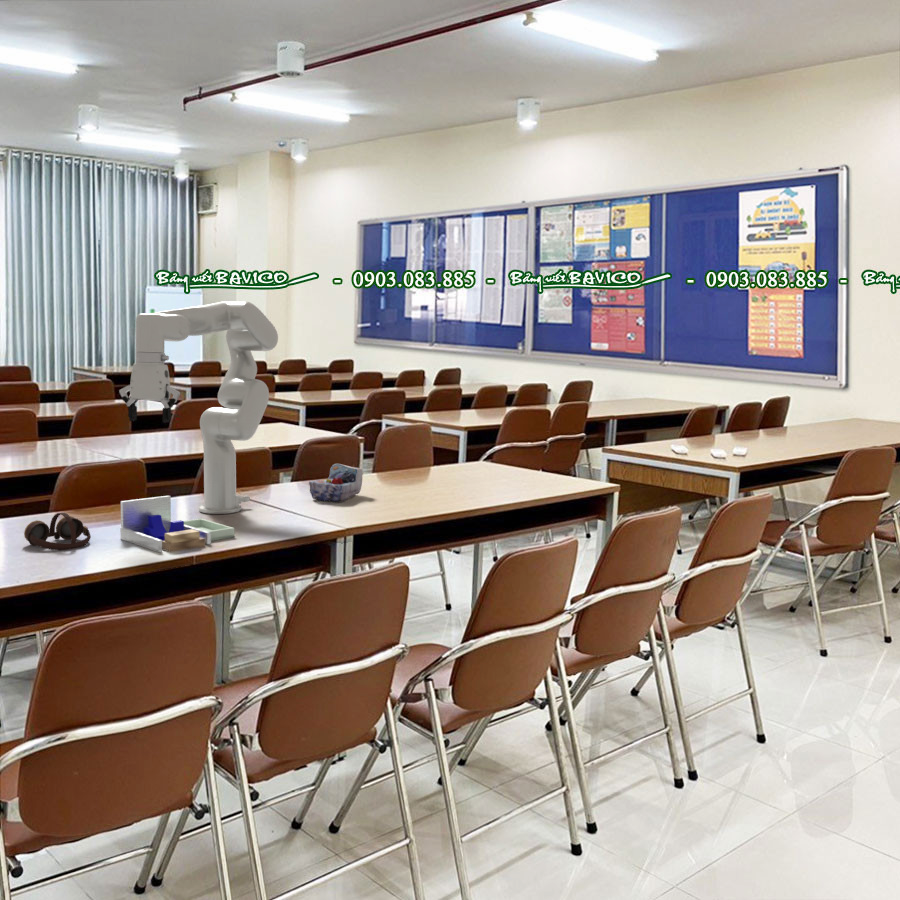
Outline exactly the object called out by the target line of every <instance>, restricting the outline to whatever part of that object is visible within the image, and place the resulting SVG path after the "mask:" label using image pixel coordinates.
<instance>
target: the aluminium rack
mask: <svg viewBox="0 0 900 900" xmlns="http://www.w3.org/2000/svg"><path fill="white" fill-rule="evenodd" d="M171 500H172V499H171V495H163V496H162V495H161V496H154V497H153V496H152V497H145V498H139V499H138V498H136V499H129V500H121V501H120V540H122V541H125V542H128V543H131V544H133V545H137V546H139V547H142V548H145V549H149V550H151V551H153V552H156V553H162V552H163V549H162V540H160V539H157V538H154V537H151V536H148V535H145V534H144V528H145V527H149V526H148V516H152V515H161V518H162V523H163V526H164V528H165V530H166V531H167V532H169V530H170V525H171V522H173V521H174V520H172V513H171V512H172V511H171V510H172V509H171V507H172V506H171ZM190 529H193V530H197V531H200V537H201V538H204V539H205V545H212V544H211V543H212V541H211V533H210V532H207V531H203V530H200V529H197V528H193V527H190V526H187V525H184V530H190Z"/></svg>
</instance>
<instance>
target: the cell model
mask: <svg viewBox="0 0 900 900" xmlns="http://www.w3.org/2000/svg"><path fill="white" fill-rule="evenodd" d="M328 475H329V476H328V478H325V479H315V480H309V482H308V486H309V493H310V495H311V497H312V499H313V500H318V501H321V502H326V503H327V502H332V503H336V502H337V503H339V502H345V501H348V500H349V499H351V498H354V497H355V496H356V495H359V494H360V492H361V489H362V487H363V486H362V485H363V476H364V475H363V469H362V468H360V467H354V466H349V465H345V464H341V463H334V464H332V466H331V467H330V470H329V474H328Z"/></svg>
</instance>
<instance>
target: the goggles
mask: <svg viewBox="0 0 900 900" xmlns="http://www.w3.org/2000/svg"><path fill="white" fill-rule="evenodd" d="M59 516H62V518H60V519H59V521H58V518H59ZM57 521H58V522H57ZM23 534H24V538H25V540H26V541H27V542H28V543H29V544H30V545H31V546H33V547H36V546H37V547H40V548H43V549H46V550H47V549H48V550H53V551H67V550H75V549H78V548H83V547H86V546H87V545H88V544H89V542H90V540H91V533H90V530H89V528H88V526H86V525H84V523H83V522H82V521H81V520H80V519H78V518H76V517H74V516H72V515H69V514H68V513H67V512H57V513H55V514H54V515H53V516H52V518H51V521H50V525H48V524H46V523H45V522H44V521H42V520H38V519H37V520H34V521H31V522H29V523H28V524H27V525H26V527H25V529H24V532H23ZM82 535H83V536H85V537H86V538H84V539H82V540H78V541H77V539H78V538H80V536H82ZM50 537H53V538H54V539H55V540H60V539H63V540H65V541H70V542H65V543H64V542H51V541H47V539H48V538H50Z"/></svg>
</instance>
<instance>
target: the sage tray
mask: <svg viewBox="0 0 900 900" xmlns="http://www.w3.org/2000/svg"><path fill="white" fill-rule="evenodd" d="M183 521H184V525H187V526H190V527H193V528H197V529H200V530H203V531H207V532H210V533H211V542H213V541H218V540H224V539H230V538H231V539H232V538H235V527H232V526H228V525H225V524H222V523H218V522H215V521H212V520H209V519H205V518H196V519H195V518H194V519H189V520H188V519H187V520H183Z"/></svg>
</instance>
